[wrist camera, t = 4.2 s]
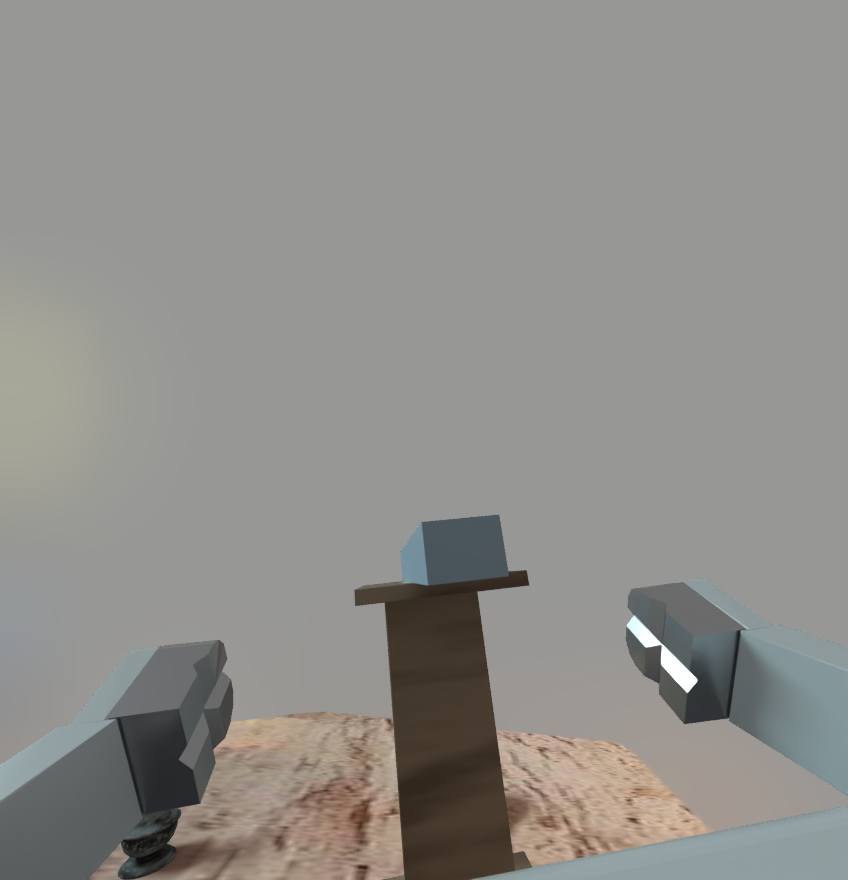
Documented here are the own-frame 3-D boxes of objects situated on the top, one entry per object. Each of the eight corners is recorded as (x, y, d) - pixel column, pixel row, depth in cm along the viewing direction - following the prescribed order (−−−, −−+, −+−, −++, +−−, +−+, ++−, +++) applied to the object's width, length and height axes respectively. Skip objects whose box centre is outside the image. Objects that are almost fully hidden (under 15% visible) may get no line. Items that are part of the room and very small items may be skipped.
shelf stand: (634, 1089, 22) (540, 568, 30) (363, 1167, 20) (339, 591, 28) (526, 871, 38) (484, 571, 46) (371, 904, 36) (354, 586, 44)
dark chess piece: (191, 846, 47) (197, 724, 51) (145, 883, 42) (156, 744, 46) (149, 843, 49) (158, 725, 52) (99, 879, 43) (113, 744, 47)
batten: (508, 576, 20) (499, 514, 21) (427, 585, 20) (421, 522, 21) (441, 577, 43) (438, 547, 44) (402, 581, 43) (400, 551, 44)
